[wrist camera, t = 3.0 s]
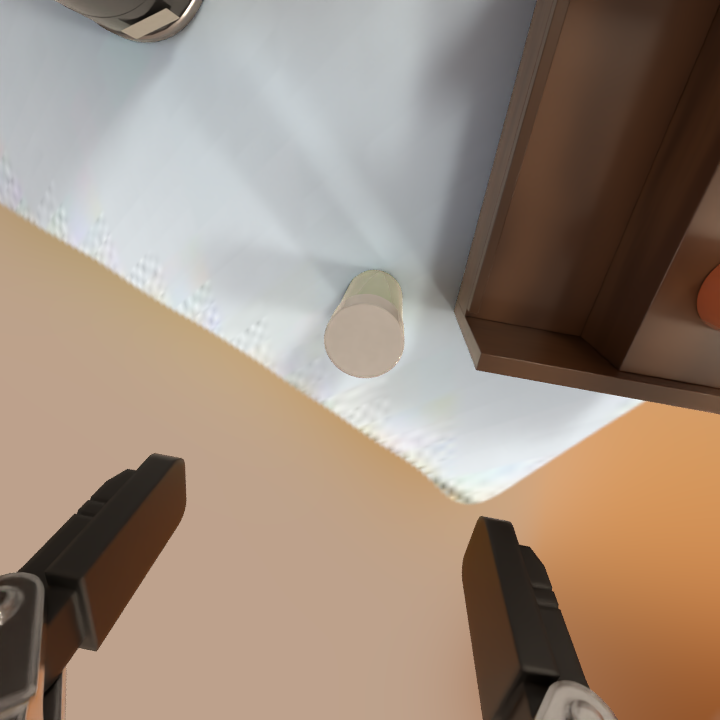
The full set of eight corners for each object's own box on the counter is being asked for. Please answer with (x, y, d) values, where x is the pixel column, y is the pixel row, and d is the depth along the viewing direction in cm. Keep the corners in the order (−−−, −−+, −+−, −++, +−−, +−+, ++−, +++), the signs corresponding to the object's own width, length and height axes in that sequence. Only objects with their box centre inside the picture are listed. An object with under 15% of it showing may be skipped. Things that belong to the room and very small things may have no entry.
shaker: (341, 320, 31) (319, 370, 23) (349, 263, 29) (329, 296, 21) (397, 330, 31) (395, 384, 23) (409, 273, 29) (412, 311, 21)
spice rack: (453, 311, 30) (475, 370, 21) (561, -94, 21) (687, -307, 11) (654, 347, 30) (766, 423, 20) (857, -48, 20) (1226, -230, 11)
